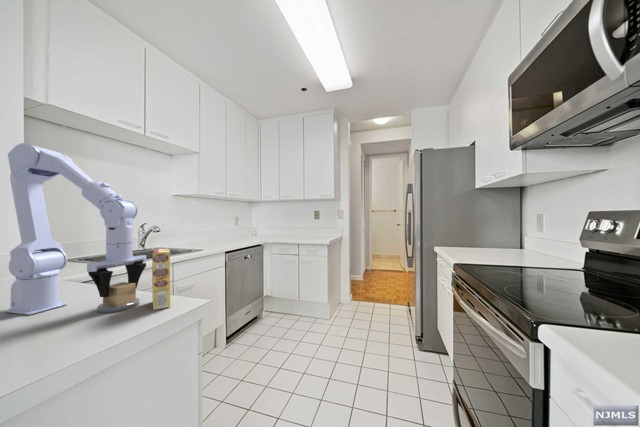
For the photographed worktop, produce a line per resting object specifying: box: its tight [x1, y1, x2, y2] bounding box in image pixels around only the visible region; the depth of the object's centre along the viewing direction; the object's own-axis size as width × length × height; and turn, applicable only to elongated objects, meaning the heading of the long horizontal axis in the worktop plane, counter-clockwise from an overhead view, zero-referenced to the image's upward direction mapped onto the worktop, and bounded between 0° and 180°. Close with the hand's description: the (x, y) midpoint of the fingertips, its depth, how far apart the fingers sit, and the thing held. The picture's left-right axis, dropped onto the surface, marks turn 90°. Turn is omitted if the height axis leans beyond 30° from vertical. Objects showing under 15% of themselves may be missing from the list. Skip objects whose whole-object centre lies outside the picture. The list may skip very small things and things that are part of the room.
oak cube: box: [102, 281, 137, 307], centre depth 68 cm, size 5×5×5 cm
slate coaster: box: [96, 297, 140, 314], centre depth 68 cm, size 9×9×1 cm
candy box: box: [151, 248, 171, 311], centre depth 70 cm, size 9×4×15 cm, turn 33°
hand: (119, 292), depth 68 cm, fingers open, 7 cm apart
